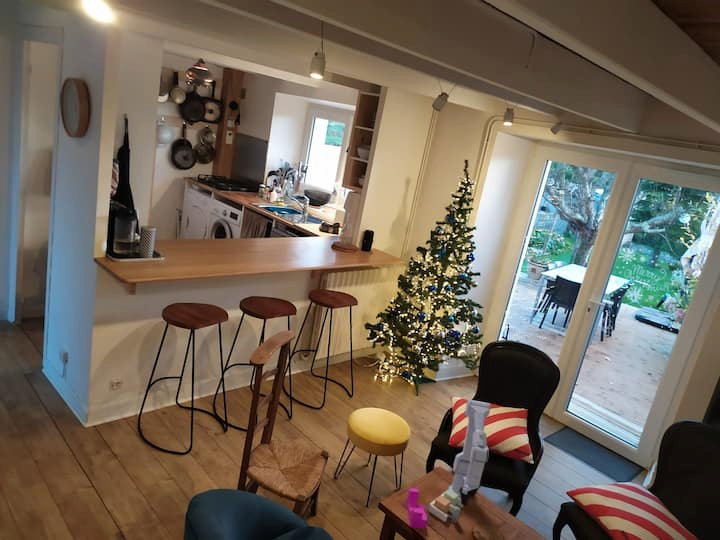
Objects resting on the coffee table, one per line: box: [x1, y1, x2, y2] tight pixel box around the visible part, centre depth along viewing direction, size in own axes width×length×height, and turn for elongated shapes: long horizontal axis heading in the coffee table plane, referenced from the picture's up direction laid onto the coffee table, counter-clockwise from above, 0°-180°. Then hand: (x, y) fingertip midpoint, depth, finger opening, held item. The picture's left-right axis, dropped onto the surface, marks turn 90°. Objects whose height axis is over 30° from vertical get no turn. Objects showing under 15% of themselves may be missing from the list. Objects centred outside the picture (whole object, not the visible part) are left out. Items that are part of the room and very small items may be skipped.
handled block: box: [434, 495, 462, 524], centre depth 227 cm, size 4×11×6 cm, turn 50°
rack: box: [427, 490, 464, 523], centre depth 231 cm, size 16×9×3 cm, turn 140°
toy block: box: [406, 487, 428, 530], centre depth 223 cm, size 15×6×8 cm, turn 2°
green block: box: [443, 488, 460, 506], centre depth 234 cm, size 4×5×6 cm
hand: (467, 500), depth 225 cm, fingers open, 7 cm apart
